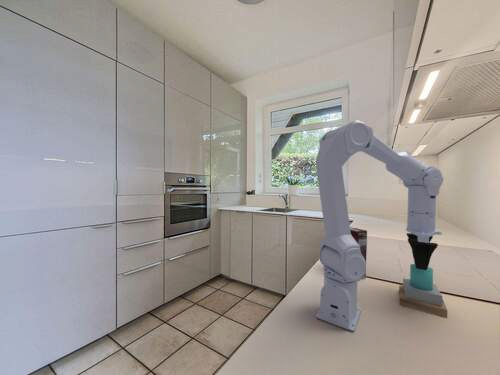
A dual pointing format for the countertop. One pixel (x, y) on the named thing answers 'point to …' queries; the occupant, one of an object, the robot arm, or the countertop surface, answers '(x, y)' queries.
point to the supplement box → (360, 241)
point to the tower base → (422, 304)
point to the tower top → (422, 293)
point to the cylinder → (421, 278)
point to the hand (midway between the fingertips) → (419, 264)
